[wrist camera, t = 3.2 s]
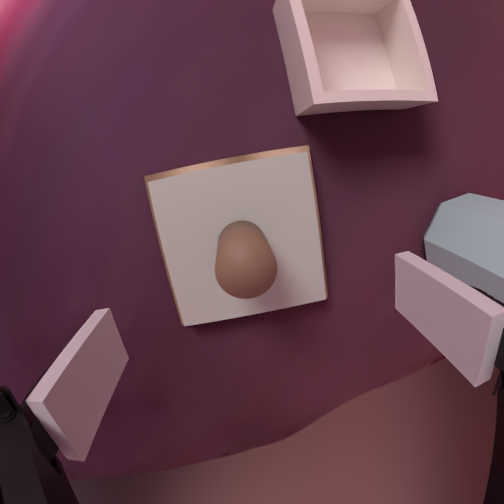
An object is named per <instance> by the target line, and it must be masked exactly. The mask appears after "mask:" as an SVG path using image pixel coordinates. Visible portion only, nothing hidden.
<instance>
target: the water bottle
mask: <svg viewBox="0 0 504 504" xmlns="http://www.w3.org/2000/svg"><path fill="white" fill-rule="evenodd" d="M424 243H425V251H426V260H427V262H429V263H431V264H433V265H434V266H436V267H438V268H440V269H441V270H443V271H445V272H447V273H448V274H450V275H452V276H453V277H455V278H457V279H459V280H460V281H462V282H464V283H465V284H467V285H469V286H473V287H476V288H479V289H481V290H483V291H484V292H486V293H488V295H491V296H493V297H494V298H495V299H497V300H499V301H501V302H502V303H504V201H502V200H498V199H494V198H490V197H485V196H481V195H476V194H471V193H467V194H465V195H462V196H459V197H457V198H454V199H451V200H448V201H446V202H443V203H441V204H440V206H439V207H438V208H437V211H436V213H435V215H434V217H433V219H432V221H431V223H430V225H429V227H428V229H427V231H426V233H425V235H424Z"/></svg>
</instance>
